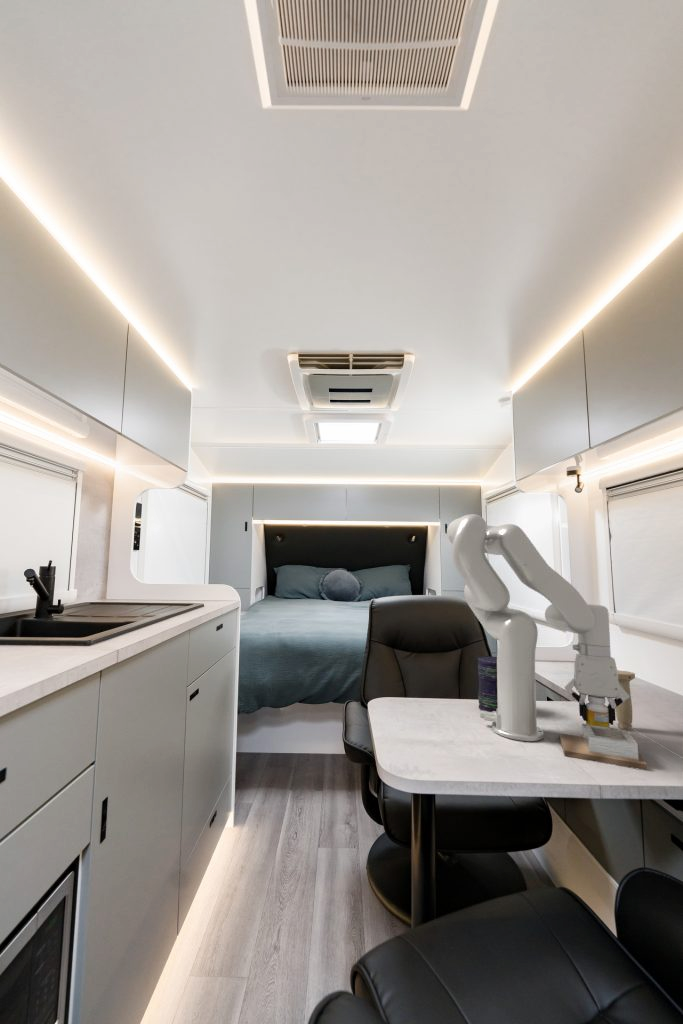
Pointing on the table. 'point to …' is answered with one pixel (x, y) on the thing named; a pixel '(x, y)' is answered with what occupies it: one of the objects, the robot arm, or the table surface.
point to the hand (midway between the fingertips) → (597, 720)
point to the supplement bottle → (597, 711)
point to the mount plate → (578, 749)
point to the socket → (610, 742)
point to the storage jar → (487, 683)
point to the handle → (626, 706)
